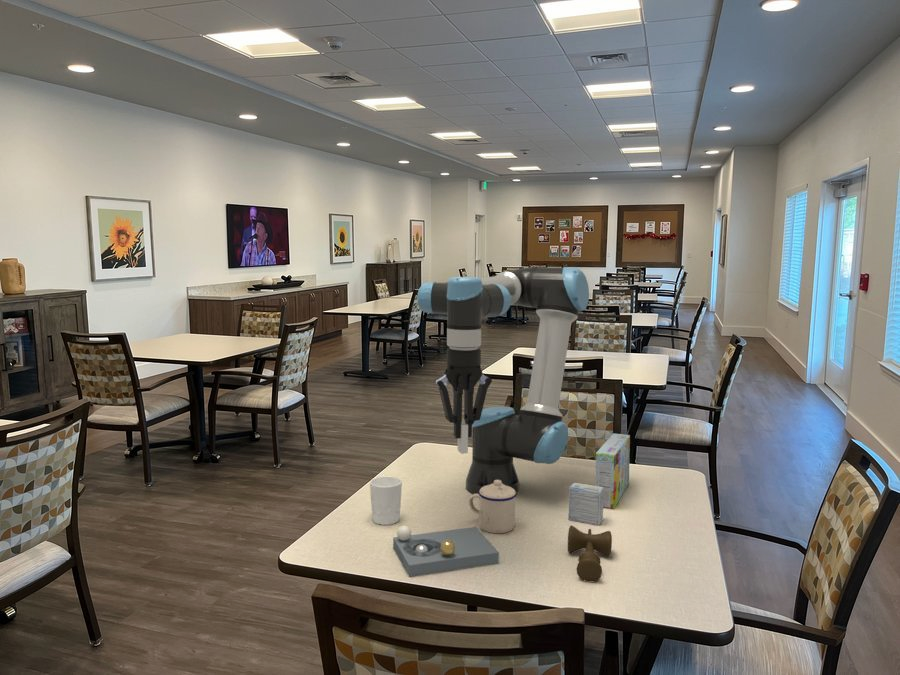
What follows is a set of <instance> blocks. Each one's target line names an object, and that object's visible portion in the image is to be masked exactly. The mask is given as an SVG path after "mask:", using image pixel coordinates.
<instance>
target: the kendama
mask: <svg viewBox="0 0 900 675" xmlns="http://www.w3.org/2000/svg"><path fill="white" fill-rule="evenodd" d="M612 536H613V535H612V532H611V531H610V530H607V531H603V532H600V533H598V534H595V533H594V534H592V529H591V528H588V530H587V533H585V532H583V531H581V530H579V529H578V528H576V526H573V525H570V526H569V528H568V534H567V553H568V554H573V553H575V552H577V551H579V550H584V552H581V553H580V554H579V555H578V559H577V561H578V563H577V565H576V574H577V576H578V577H579V579H581V580H582V581H584V580H585V581H584V582H589V581H595V582H597V581H599V580H600V579H601V578H602V574H603V569H602V568H603V567H602V565H601V562H602V561H601V557H600V555H602V556H605V557H606V558H610V557H611V553H612V547H613V545H612V543H613V542H612V541H613V540H612V539H613V537H612ZM595 551H596V552H598V553H599V554H600V555H599V554H597V553H596V552H595Z"/></svg>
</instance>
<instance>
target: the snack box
mask: <svg viewBox="0 0 900 675" xmlns="http://www.w3.org/2000/svg"><path fill="white" fill-rule="evenodd" d="M630 444H631V435H630V434H623V433H612V434H611V435H610V437H608V439H607V440H605V442H604V443H603V444H602V445H601V446H600V448H599V449H598V450H597V451H596V452H595V486H599V487H603V488H604V493H603V509H610V510H615V507H616V506H617V504H618V502H620V499H621V497H622V496H623V495H624V493H625V491H626V490H627V488H628V487H629V485H630V456H631V454H630V453H631V452H630V450H631V448H630V447H631V445H630Z"/></svg>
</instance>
